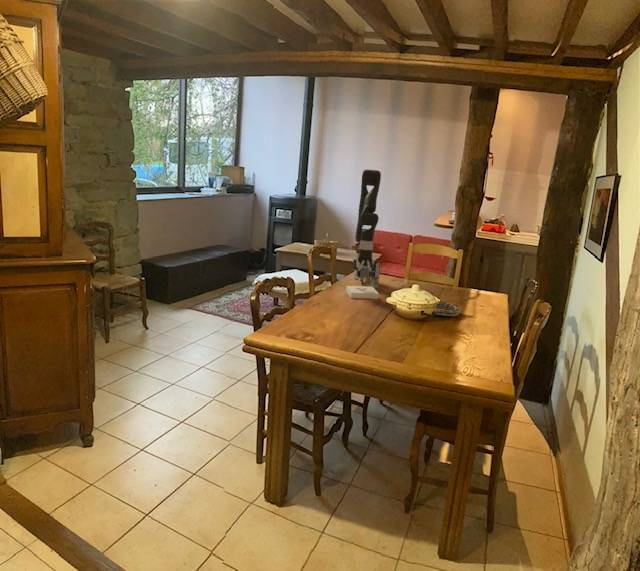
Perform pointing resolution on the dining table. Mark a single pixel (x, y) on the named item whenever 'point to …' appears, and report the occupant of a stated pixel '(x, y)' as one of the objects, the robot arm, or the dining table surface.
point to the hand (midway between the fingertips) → (363, 277)
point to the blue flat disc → (446, 309)
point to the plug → (364, 273)
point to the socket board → (362, 292)
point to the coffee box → (372, 277)
